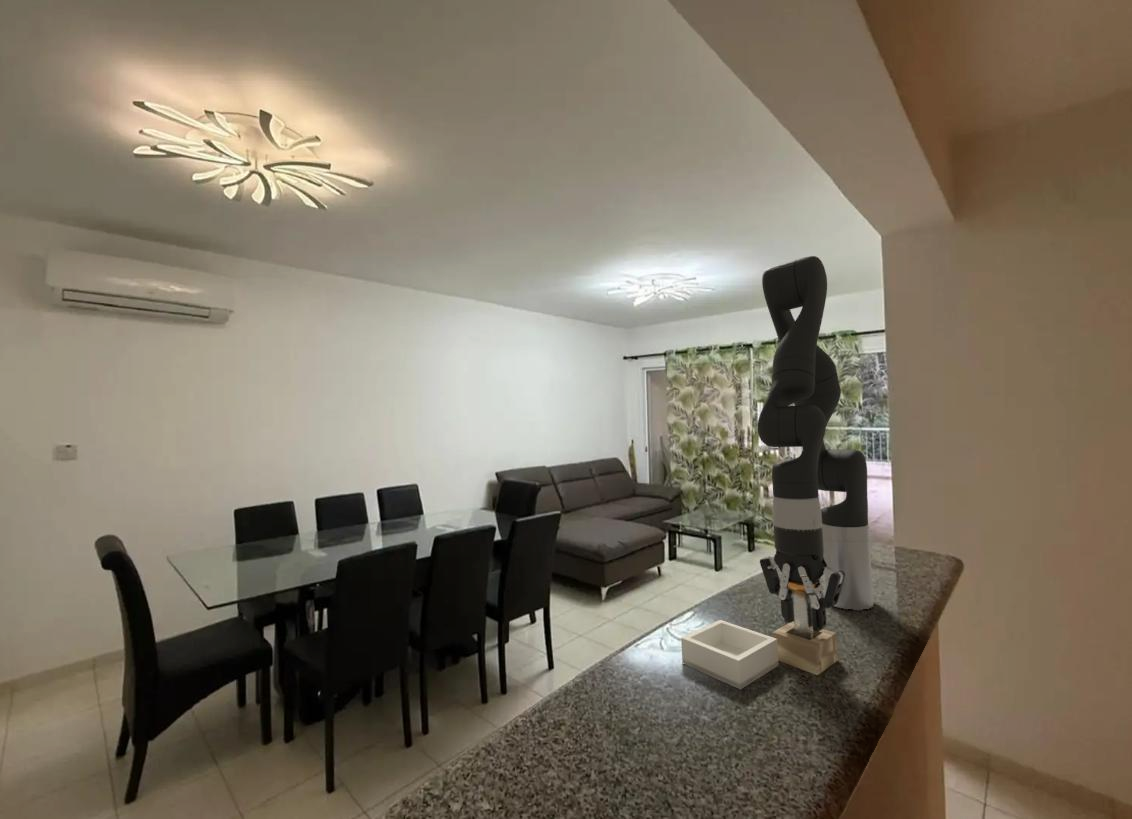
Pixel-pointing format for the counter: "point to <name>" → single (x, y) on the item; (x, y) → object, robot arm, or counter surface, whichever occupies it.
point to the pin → (801, 611)
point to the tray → (730, 653)
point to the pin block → (806, 649)
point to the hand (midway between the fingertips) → (803, 624)
